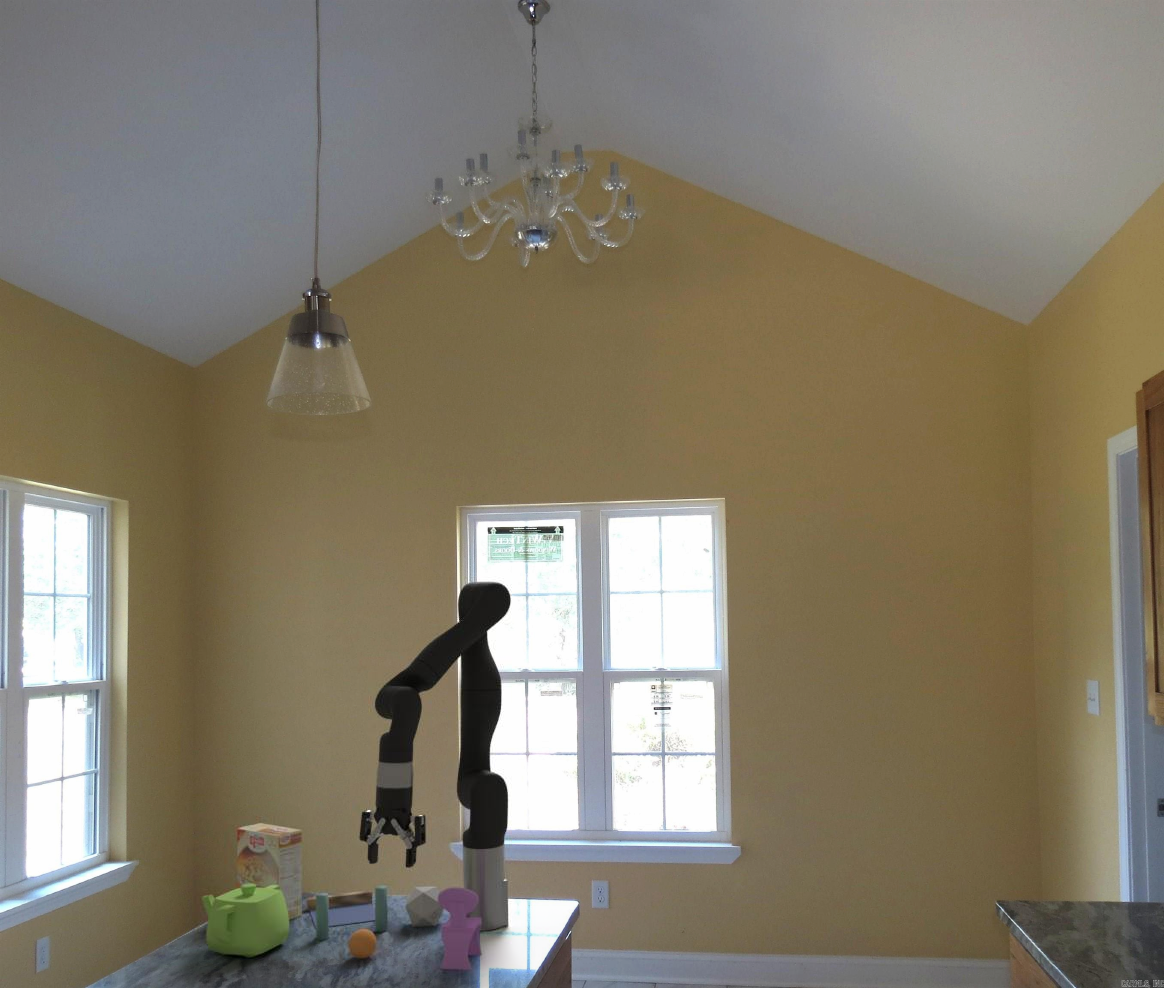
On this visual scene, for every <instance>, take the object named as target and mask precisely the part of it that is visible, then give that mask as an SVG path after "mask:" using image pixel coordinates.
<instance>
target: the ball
mask: <svg viewBox="0 0 1164 988" xmlns="http://www.w3.org/2000/svg"><path fill="white" fill-rule="evenodd" d="M377 943H378V942H377V936H376V935H375V934H374V933H373V931H371V930H369V929H365V928H361V929H357V930H356V931H355V932H353V933H352V935H351V936H350V938H349V941H348V949H349V952H350V953H351V955H352V956H353V957H354V958H357V959H362V960H363V959H367V958H369V957H370V956H372V955H373V953H374V952H375V950H376V948H377Z"/></svg>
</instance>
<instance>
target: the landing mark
mask: <svg viewBox="0 0 1164 988" xmlns="http://www.w3.org/2000/svg"><path fill="white" fill-rule="evenodd" d="M309 913H310V917H311V919H312V922H313V925H314V929H316V909H314V910H310V911H309ZM369 922H375V907H374V906H373V905H372V903H370V902H369V903H361V904H354V905H346V906H338V907H330V908H329V928H332V927H339V926H346V925H347V926H348V925H353V924H355V925H356V924H362V923H369Z"/></svg>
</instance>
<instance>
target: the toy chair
mask: <svg viewBox="0 0 1164 988" xmlns="http://www.w3.org/2000/svg"><path fill="white" fill-rule="evenodd" d="M439 892H440V893H439V895H438V903H439V904H440V906H441V907H443V908H444V910H446V912H448V913H449V915H450V917H449V919H448V920H447V921H446V922H445V923H444V924H443V925H442V926H441V934H440V936H441V940H442V943H443V946H444V954H443V958H442V962H441V964H440V966H439V969H442V970H444V969H445V970H464V971H465V970H466V971H468V970H472V966H471V964H470V960H469V956H483V952H482V949H481V945H480V940H479V939H480V936H479V935H480V929H481V926H482V922H481V917H472V918H466V915H467V914H468V913H470V912H471V911H473V910H474V908H475V907H476V906H477V904H478V901H479V898H478V895H477V894H476V893H475V892H473V891H471V890H469V889H466V888H463V887H461V886H460V887H459V886H458V887H456V886H455V887H449V888H448V887H447V888H445V889H443V890H442V891H439Z"/></svg>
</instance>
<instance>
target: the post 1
mask: <svg viewBox="0 0 1164 988" xmlns="http://www.w3.org/2000/svg"><path fill="white" fill-rule="evenodd" d="M329 895H330V894H329V893H328V892H321V893H317V894H316V895H315V897H316V928H315V939H316V940H317V941H324V940H327V939H330V938H329V937H330V936H329V935H330V934H329V932H330V930H329V928H330V927H329Z"/></svg>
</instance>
